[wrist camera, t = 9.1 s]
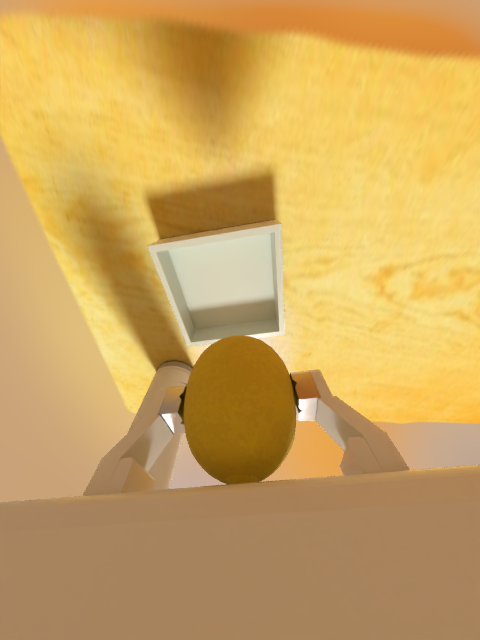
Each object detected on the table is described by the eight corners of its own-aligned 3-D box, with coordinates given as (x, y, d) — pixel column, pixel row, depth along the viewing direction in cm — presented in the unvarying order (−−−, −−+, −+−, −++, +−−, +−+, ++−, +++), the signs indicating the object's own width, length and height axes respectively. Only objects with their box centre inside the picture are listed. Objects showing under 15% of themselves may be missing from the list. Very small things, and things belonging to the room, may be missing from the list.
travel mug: (201, 365, 30) (154, 577, 13) (191, 389, 33) (142, 584, 16) (161, 354, 29) (53, 575, 12) (154, 380, 32) (62, 583, 15)
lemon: (182, 335, 13) (122, 489, 6) (253, 295, 11) (280, 441, 4) (227, 380, 15) (221, 523, 9) (290, 353, 14) (343, 501, 7)
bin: (275, 219, 19) (281, 223, 16) (279, 319, 25) (284, 334, 22) (160, 239, 20) (147, 246, 17) (192, 330, 26) (187, 346, 23)
